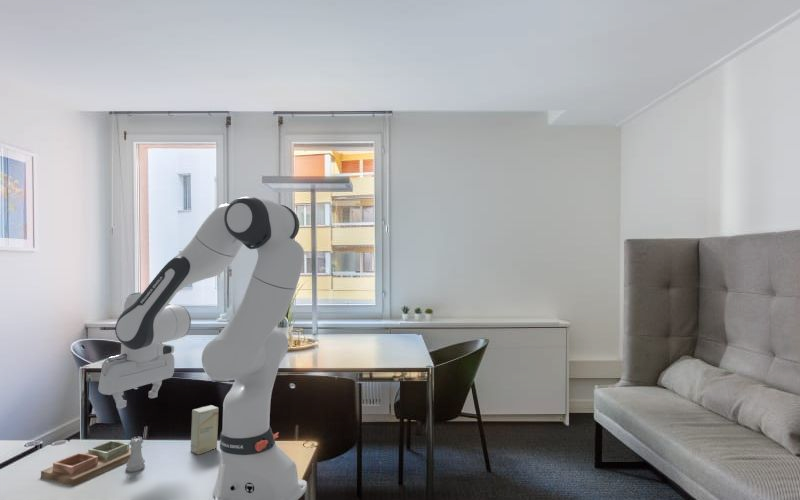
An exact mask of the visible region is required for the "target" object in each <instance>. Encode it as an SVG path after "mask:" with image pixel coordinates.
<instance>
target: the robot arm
mask: <svg viewBox="0 0 800 500" xmlns="http://www.w3.org/2000/svg"><path fill="white" fill-rule="evenodd" d="M203 221H204V222H202V224H201V225H200V227H199V228H198V230H197V231H196V232H195V235H193V237H192V239H191V241H190V242H188V244H186V246H185V247H184V248H183V249H182V250H181V251H180V252H179V253H178V254H177V255H176V256H174V257H173V258H172V259H170V260H169V261H168V262H167V263H166V264H165V265H164V266H163V267H162V268H161V269H160V271H159V272H158V273H157V274H156V276H155V277H154V278H153V280H152V281H151V282H150V283H149V284H148V286H147V287H146V288H145V290H143V291H140V292H132V293H130V294H129V295H127V297H126V298H125V301H124V305H123V311H122V313H121V314H120V315H119V317H118V319H117V321H116V323H115V328H114V329H115V331H114V332H115V333H114V334H115V336H116V338H117V341H119V342H120V354H118V355H115V356H109V357H107V358H106V360H104V361H103V362H102V364H101V372H100V376H99V381H98V386H97V387H98V388H97V390H98V392H99V393H100V394H101V395H108V396H111V395H112V397H113V399H114V400H115V402H116V409H119V410H121V409H123V408H126V407H127V401H128V399H127V400H125V399H124V398H123V396H124V391H125V392H126V391H129V390H131V389H136V388H139V387H143V386H146V385H149V384H152V387H151V390H149V391H148V398H149V399H156V398H158V393H159V390H160V388H161V386H162V383H163V380H167V379H170V378H172V377H173V375H174V373H175V356H174V352H175V346H174V345H171V344H165V343H167V342H171V341H176V340H179V339H181V338H184V337H185V336H187V334H188V333H189V330H190V327H191V323H192V322H191V321H192V320H191V315H190V312H189V311H188V309H186V308H185V306H183V305H177V304H175V303H173V302H171V301H172V300H173V298H174V297H175V296H176V294H178V292H180V291H181V290H183V289H184V288H186V287H188V286H189V285H192V284H194V283H197V282H200V281H203V280H206V279H211V278H214V277H216V276H218V275H221V274H222V273H223V272H224V271H225V270H227V268H229V266H230V265H231V264H232V262H233V261H234V259H235V258H236V256H237V255H238V253H239V251H240V249H241V248H242V246H243V245H244V246H245V247H247V249H249V250H256V252H257V260H256V263H255V266H254V269H253V271H252V274H251V277H250V279H249V282H248V285H247V288H246V290H245V292H244V295H243V297H242V300H241V302H240V304H239V306H238V307H237V309H236V311H235V312H234V313H233V315H232V317H230V319H229V321H227V323H226V324H225V326H224V327H223V329H222V330H221V331H220V332H219V333H218V334H217V335H216V336H215V337H214V338H213V339H211V341H209V342H208V343H207V344H206V345H205V347H204V348H203V350H202V354H201V365H202V368H203V370H204V372H205V374H206V375H207V376H208V378H210V379H212V380H213V381H225V382H226V381H234V382H233V384H232V386H231V388H230V390H229V391H228V392H227V394H226V395H225V397H224V399H223V403H222V407H223V408H222V429H221V431H220V434H219V435H220V437H219V449H220V450H221V452H220V460H219V467H218V471H217V472H218V473H217V477H216V481H215V485H214V487H213V490H212V495H213V497H214V500H299V499H300V498H301V497H302V496H303V495H304V494H305V493H306V491H307V488H308V484H307V482H308V481H306V480H305V479H302V478H300V477H299V476H298V468H297V465H296V462H295V461H294V460H293V459H292V458H291V457H290V456H288V454H286V453H285V452H284V451H283V450H282V449H281V447H279V446H278V445H277V444H276V440H275V439H277V438H278V437H279V433H280V432H278V431H277V432H276V433H273V431H272V428H271V425H270V421H271V420H270V414H271V399H272V393H273V388H274V384H275V381H276V378H277V374H278V372H279V369H280V368H279V367H280V365H281V363H282V362H283V359H285V357H286V355H287V354H288V351H289V339H288V337H287V335H286V334H285V332H284V331H283V330H281V329H279V328H277V325H279V324H280V323H281V322H282V321H283V320H284V318H285V317H286V315H287V313H288V311H289V308H290V305H291V302H292V300H293V297H294V294H295V293H296V290H297V286H298V284H299V280H300V277H301V274H302V271H303V270H302V269H303V264H304V258H305V249H304V248H303V247H302V244H300V243H299V242H298V241H297V240H296V239H295V238H296V237H297V235H298V233H299V230H300V221H299V218H298V216H297V214H296V212H294V211H293V209H291V208H289V207H288V206H286V205H283V204H279V203H277V202H275V201H273V200H269V199H265V198H257V197H253V196H243V197H239V198H236V199H233V201H231V202H230V203H223V204H220V205H218V206H217V207H215V209H214V210H213V211H212V212H211V213H210V214H209V215H208V216H207V217H206V219H205V220H203Z"/></svg>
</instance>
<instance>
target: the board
mask: <svg viewBox="0 0 800 500" xmlns="http://www.w3.org/2000/svg"><path fill="white" fill-rule="evenodd" d="M129 443H130V442H122V441H118V440H114V439H111V440H108V441H106V442H104V443H100V444H99V445H96V446H94V447H91V448H88V452H86V453H84V452H78V453H76V454H73V455H71V456H68V457H65V458H63V459H62V458H61V459H60V460H57V461H54V462H53V463H52V466H51V467H48V468H46V469H43V470H40V478H43V479H47V480H51V481H53V482H54V481H55V482H58V483H63V484H67V485H70V486H75V485H78V484H80V483H82V482H84V481H87V480H89V479H90V478H93V477H95V476H97V475H100V474H102V473H104V472H107V471H109V470H111V469H113V468H115V467H118V466H119V465H121V464H124V463H127V462H128V460H129V459H130V454H131V450H130V444H129Z"/></svg>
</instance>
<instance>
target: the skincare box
mask: <svg viewBox="0 0 800 500" xmlns="http://www.w3.org/2000/svg"><path fill="white" fill-rule="evenodd" d="M218 429H219V407H218V406H215V405H212V404H210V405H206V406H201V407H198V408H194V409H192V411H191V430H190V431H191V432H190V452H192V453H194V454H195V455H201V454H203V453H207V452H210V450H211V451H213V450H212V449H214V450H216V449H218V431H219V430H218ZM215 448H216V449H215Z"/></svg>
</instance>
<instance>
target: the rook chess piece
mask: <svg viewBox="0 0 800 500" xmlns="http://www.w3.org/2000/svg"><path fill="white" fill-rule="evenodd" d="M128 443H129V446H130V447H129V449H130V450H131V454H130V459H129V460H128V461H126V467H125V470H126V471H127V472H128V473H135V472H139V471H141V470H143V469H144V468H145V466H146V464H145V462H146V460H145V459H144V457H143V454H142V448H143V446H142V444H143V443H144V440H143V437H142V436H134V437H132V438H131V439H130V441H129V442H128Z"/></svg>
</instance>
